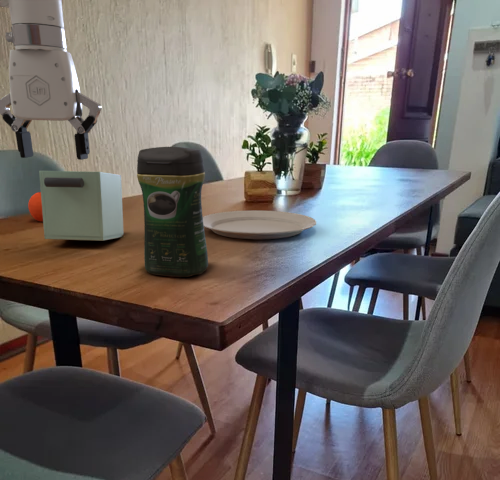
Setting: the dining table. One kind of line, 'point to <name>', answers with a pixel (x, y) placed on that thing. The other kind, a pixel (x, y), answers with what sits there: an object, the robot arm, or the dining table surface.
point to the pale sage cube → (81, 205)
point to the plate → (257, 224)
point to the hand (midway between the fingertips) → (54, 158)
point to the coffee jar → (173, 210)
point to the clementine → (36, 207)
